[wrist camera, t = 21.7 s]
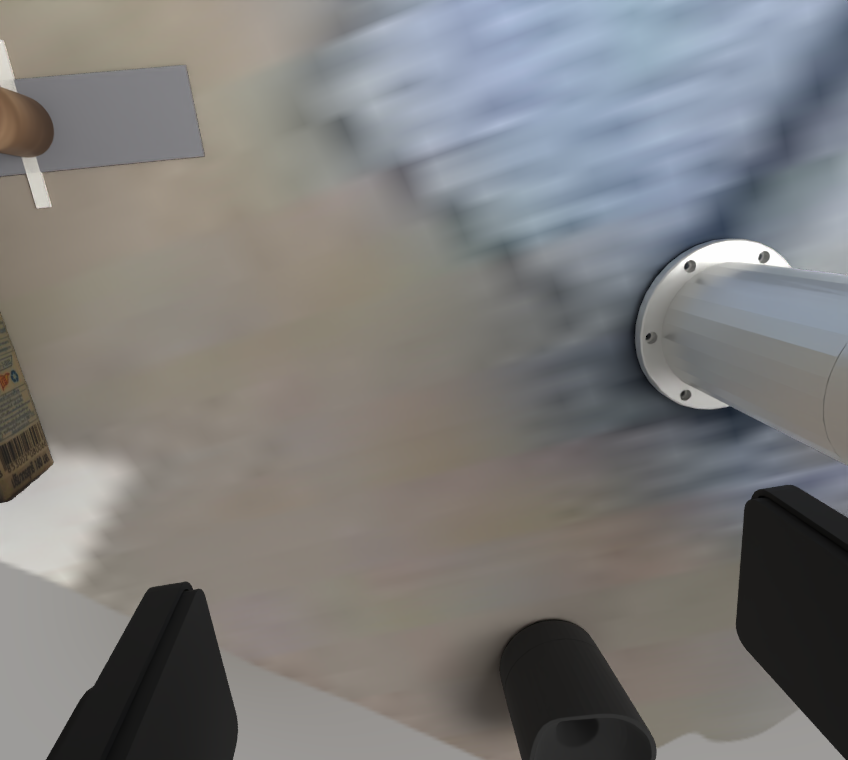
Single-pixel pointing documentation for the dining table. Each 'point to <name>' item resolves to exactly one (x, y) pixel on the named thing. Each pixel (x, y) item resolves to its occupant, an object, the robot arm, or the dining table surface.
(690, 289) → the robot arm
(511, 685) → the pen holder
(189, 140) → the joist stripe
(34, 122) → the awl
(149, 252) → the dining table surface
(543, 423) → the dining table surface
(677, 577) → the dining table surface
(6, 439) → the beverage carton
